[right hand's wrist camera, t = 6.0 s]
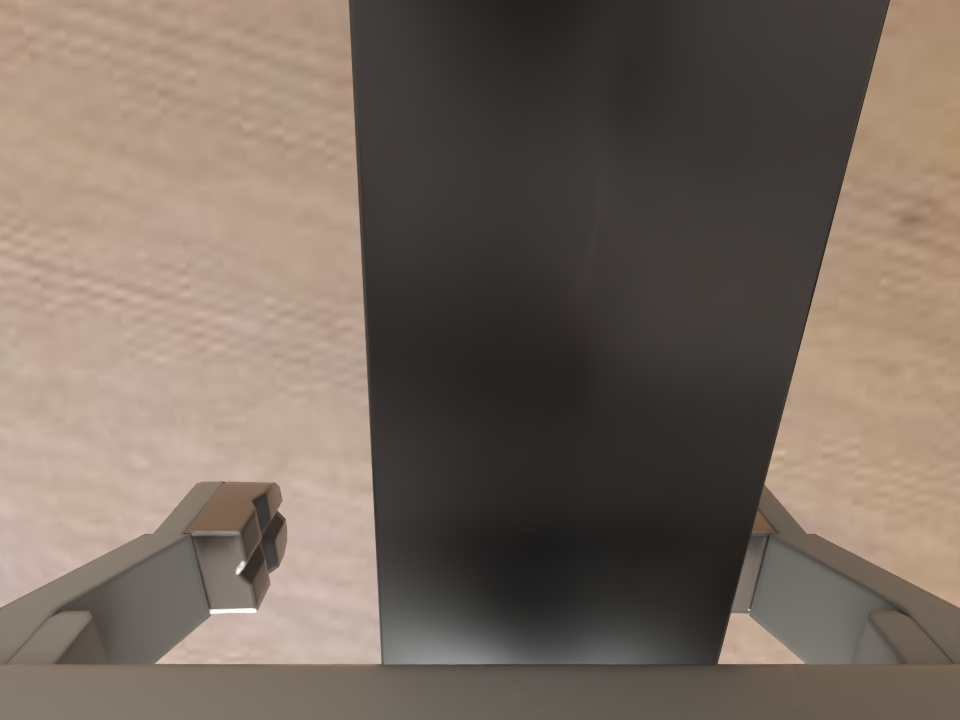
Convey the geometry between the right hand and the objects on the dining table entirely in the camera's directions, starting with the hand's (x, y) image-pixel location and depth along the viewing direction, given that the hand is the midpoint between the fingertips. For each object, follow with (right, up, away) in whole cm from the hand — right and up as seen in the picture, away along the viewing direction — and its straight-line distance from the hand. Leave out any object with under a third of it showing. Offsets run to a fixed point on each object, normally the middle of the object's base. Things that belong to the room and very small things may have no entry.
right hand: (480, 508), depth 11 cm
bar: (+1, +7, +2) cm, 8 cm away
